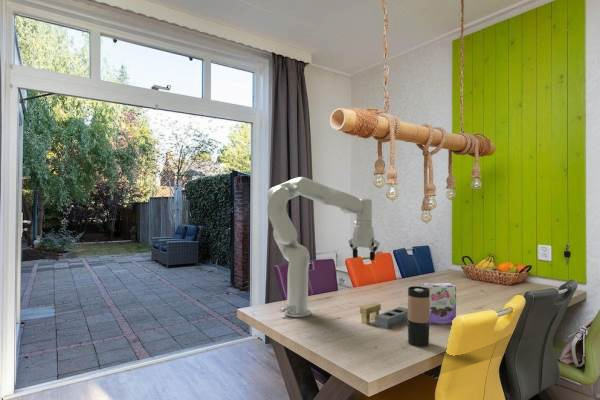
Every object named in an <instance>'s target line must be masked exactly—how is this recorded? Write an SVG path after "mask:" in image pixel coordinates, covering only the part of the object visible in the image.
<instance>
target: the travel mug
mask: <svg viewBox="0 0 600 400" xmlns="http://www.w3.org/2000/svg"><path fill="white" fill-rule="evenodd" d="M407 309H408V321H407V340H408V341H407V342H408V344H409V345H410V346H412V347H417V348H426V346H427V347H429V344H430V325H431V324H430V290H429V289H428V288H425V287H420V286H417V285H416V286H415V285H413V286H408V287H407Z"/></svg>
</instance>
